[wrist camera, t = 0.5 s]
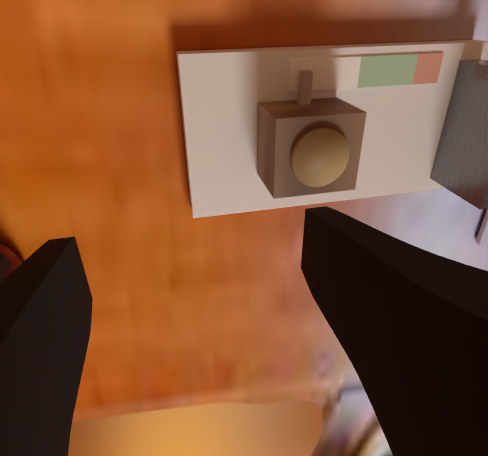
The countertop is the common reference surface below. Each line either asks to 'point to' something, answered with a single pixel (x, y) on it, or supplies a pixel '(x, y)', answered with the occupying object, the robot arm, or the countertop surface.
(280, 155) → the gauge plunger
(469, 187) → the brushed steel block
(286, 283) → the countertop surface
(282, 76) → the gauge track
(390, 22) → the countertop surface
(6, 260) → the supplement bottle
